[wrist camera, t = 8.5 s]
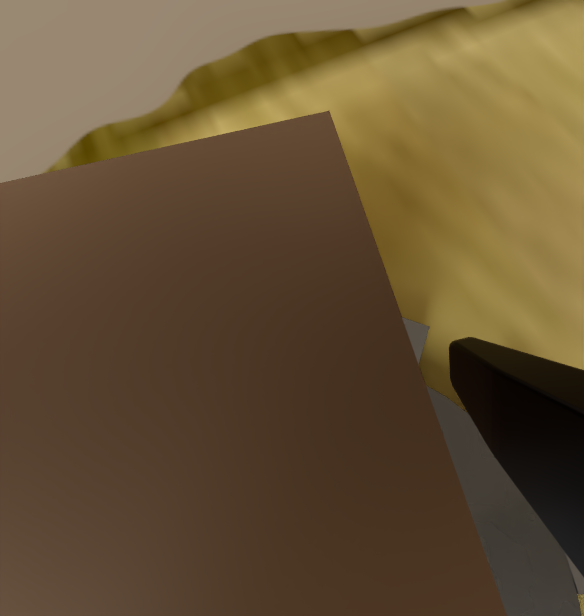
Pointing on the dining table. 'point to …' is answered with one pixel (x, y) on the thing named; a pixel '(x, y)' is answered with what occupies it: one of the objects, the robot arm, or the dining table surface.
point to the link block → (218, 396)
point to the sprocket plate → (504, 517)
